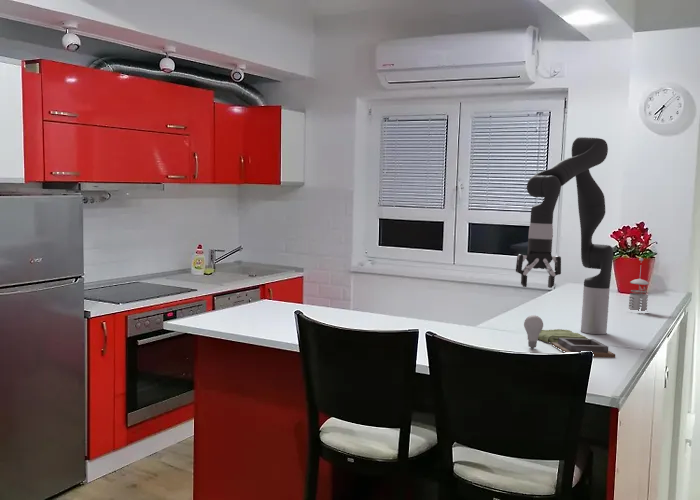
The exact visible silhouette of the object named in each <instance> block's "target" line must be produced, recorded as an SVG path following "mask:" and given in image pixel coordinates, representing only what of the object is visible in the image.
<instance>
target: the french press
mask: <svg viewBox="0 0 700 500" xmlns="http://www.w3.org/2000/svg"><path fill="white" fill-rule="evenodd" d="M638 261H640V262H643V261H644V257H639V259H638ZM639 268H640V270H639V271H640V272H639V276H641V273H642V266H640V267H639ZM629 283H630V284H634V285H638V290H637V289H631V290H630V292H631V293H629V296H628V297H629V299H628V300H629V301H628V309H630V310H638V311H639V309H640V308H641V311H645V310H647V311H648V301H649V300H648V298H649V295H648V294H647V293H648V291H647V290H646V287H645V286H646V285H649V284H650V283H649V281H647V280H645V279H642V278H637V279H636V278H635V279H633V280H631V281H629ZM640 285H642V286H643V285H644V286H643V288H641V286H640Z"/></svg>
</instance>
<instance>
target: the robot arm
mask: <svg viewBox="0 0 700 500" xmlns="http://www.w3.org/2000/svg"><path fill="white" fill-rule="evenodd" d="M608 147H609V146H608V143H607V141H606V140H605V139H603V138H599V137H583V136H582V137H581V136H580V137H576V138H575V139H574V140H573V141H572V146H571V157H568V158H565V159H562V160H560V161H559V162H557V163H555V164H554V165H553V166H552V167H550V168H549V169H546V170H543V171H541V172H540V171H539V172H538V173H536V174H534V175H532V176H531V177H530V178H529V179H528V180H527V184H526V191H527V193H528V194H529V195H530V197H533V198H543V200H542V202H541V203H540V204H539V203H538V204H535V205H533V206H532V207H531V210H530V218H529V219H530V222H529V228H528V238H527V252H526V253H527V254H525V255H524V254H520V253H519V254H517V257H516V265H515V273H517V274H520V276H521V277H520V285H521V286H522V287H524V288H527V286H528V283H527V282H528V273H529V272H530V271H532V270H533V269H536V270H537V269H541V270H545V271H546V272H547V273H548V280H547V288H551V289H552V288H553V287H554V286H555V279H556V278H555V277H556V276H558V275H559V276H560V275H561V274H562V257H561V256H559V255H555V256H553V255H552V251H553V250H552V249H553V237H554V235H553V234H554V228H553V227H554V226H553V222H554V212H555V211H554V210H555V208H556V206H557V205H556V204H557V202H558V199H559V197H560V195H561V194H560V193H561V188H562V187H563V186H564V185H566V184H567V183H568V182H570V180H572V179H574V177H575V183H576V192H577V207H578V216H579V225H580V257H581V258H580V259H581V264H582V266H583V267H584V268H585V269H595V270H600V272H599V273H598V274H596V275H594V276H590V277H587V278H585V279H584V281H583V289H582V290H583V292H582V293H583V294H582V307H581V321H580V323H581V324H580V332H581V333H585V334H590V335H606V334H607V330H608V317H609V303H610V301H609V300H610V289H611V279H612V269H613V262H614V249H613V247H612V246H611V245H608V244H598V243H597V244H595V243H593V239H592V238H593V235H594V233H595V231H596V230H597V228H598V227H599V226H600V224H601V223H602V221H603V220H604V218H605V215H606V197H605V194H604V193H603V191H602V188H600V186H599V184H597V182H596V180H595V179H594V178H593V176H592V174H591V171H590V170H591V168H592V169H593V168H594V167H596V166H598V165H601V164H602V163H604V162H605V160H606V159H607V157H608V151H609V148H608ZM525 261H527V263H526V265H524V268H523V263H524V262H525ZM551 262H553V263H554V270H553V267H552V265H550V263H551Z"/></svg>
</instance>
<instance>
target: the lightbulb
mask: <svg viewBox="0 0 700 500" xmlns="http://www.w3.org/2000/svg"><path fill="white" fill-rule="evenodd" d="M523 326H524V327H523V328H524V329H525V331H526V332H525V333H526V334H527V340H528V347H529V348H530V349H532V348H533V349H535V348H536V347H537V342H538V336H539V333H540V332H541V330H544V329H543V328H544V321H543V319H542V318H541V317H539V316H538V315H536V314H533V315H529V316H527V317H526V318H525V319H524V321H523Z"/></svg>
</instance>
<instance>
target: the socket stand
mask: <svg viewBox="0 0 700 500" xmlns="http://www.w3.org/2000/svg"><path fill="white" fill-rule="evenodd" d="M551 344H552V345H554V346H555V347H557V348H559V349H561V350H562V351H565V352H581V351H592V352H593V354H594V357H593V358H616V354H615V353H614V352H612V351H609V346H608V345H606V344H604V343H602V342H600V341H599V340H596V339H594V338H588V339H579V338H558V343H556V342H551V343H550V345H551ZM555 347H554V348H555Z"/></svg>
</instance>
